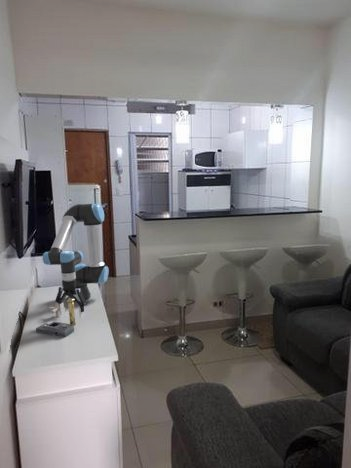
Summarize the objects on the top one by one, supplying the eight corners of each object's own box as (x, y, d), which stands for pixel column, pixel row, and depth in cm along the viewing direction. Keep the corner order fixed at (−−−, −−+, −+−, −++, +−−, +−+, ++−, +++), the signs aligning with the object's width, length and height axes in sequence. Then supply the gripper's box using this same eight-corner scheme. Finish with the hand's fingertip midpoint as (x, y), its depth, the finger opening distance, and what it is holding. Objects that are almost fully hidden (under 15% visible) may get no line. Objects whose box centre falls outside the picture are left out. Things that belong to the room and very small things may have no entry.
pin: (72, 322, 205) (70, 297, 202) (77, 323, 203) (75, 298, 201) (67, 325, 201) (65, 299, 199) (73, 326, 200) (71, 300, 197)
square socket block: (45, 326, 200) (44, 318, 200) (74, 331, 193) (73, 323, 192) (36, 331, 194) (35, 323, 193) (65, 337, 186) (64, 328, 185)
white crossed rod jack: (61, 320, 208) (59, 304, 206) (45, 319, 210) (44, 303, 208) (69, 314, 218) (68, 298, 216) (54, 313, 220) (53, 297, 218)
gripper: (46, 279, 199) (49, 315, 203) (83, 283, 189) (85, 321, 193) (55, 275, 206) (59, 310, 209) (91, 279, 196) (94, 316, 200)
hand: (71, 315), depth 201 cm, fingers open, 13 cm apart
